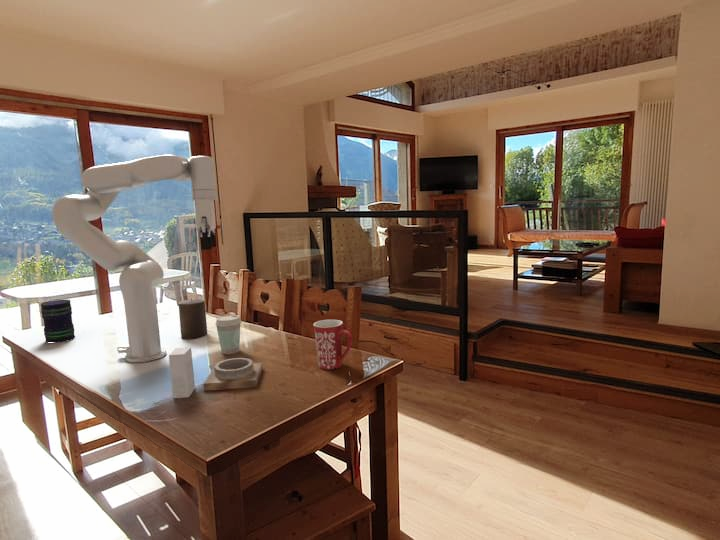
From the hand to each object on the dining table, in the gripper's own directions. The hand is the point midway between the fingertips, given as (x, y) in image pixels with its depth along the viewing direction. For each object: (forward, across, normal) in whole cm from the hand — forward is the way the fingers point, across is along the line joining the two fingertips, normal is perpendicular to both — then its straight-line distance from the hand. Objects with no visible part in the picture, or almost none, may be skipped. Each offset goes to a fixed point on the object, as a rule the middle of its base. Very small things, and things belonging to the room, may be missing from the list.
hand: (209, 248), depth 149 cm
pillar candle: (+36, -25, -12) cm, 46 cm away
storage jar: (+36, -35, -64) cm, 82 cm away
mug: (+36, +23, +37) cm, 57 cm away
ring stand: (+36, +25, +8) cm, 45 cm away
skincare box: (+36, +32, -5) cm, 49 cm away
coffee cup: (+36, -1, +4) cm, 37 cm away
